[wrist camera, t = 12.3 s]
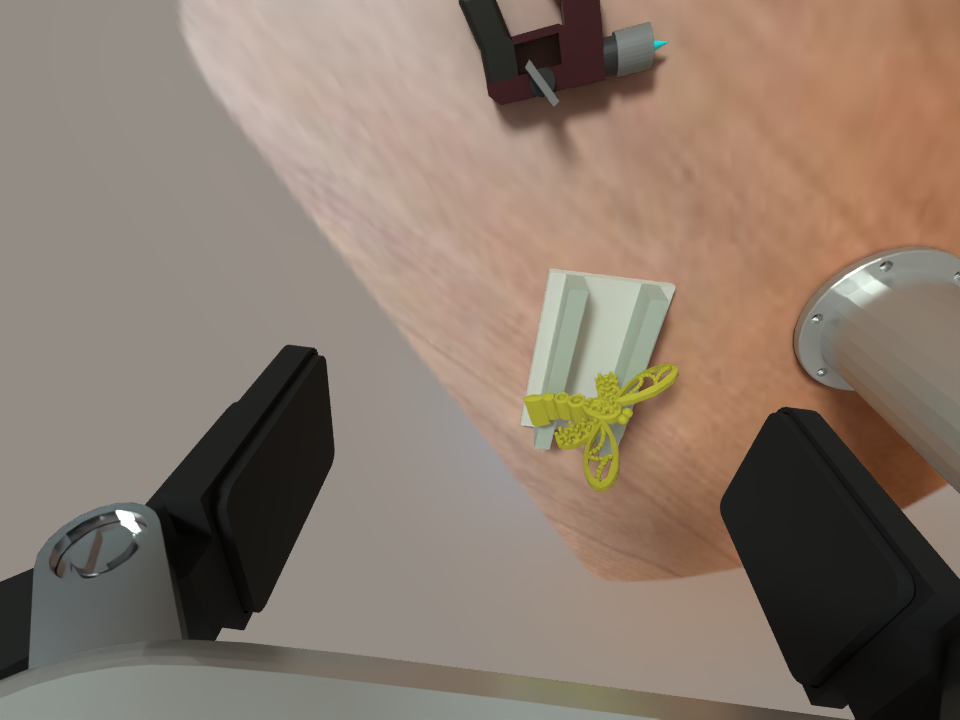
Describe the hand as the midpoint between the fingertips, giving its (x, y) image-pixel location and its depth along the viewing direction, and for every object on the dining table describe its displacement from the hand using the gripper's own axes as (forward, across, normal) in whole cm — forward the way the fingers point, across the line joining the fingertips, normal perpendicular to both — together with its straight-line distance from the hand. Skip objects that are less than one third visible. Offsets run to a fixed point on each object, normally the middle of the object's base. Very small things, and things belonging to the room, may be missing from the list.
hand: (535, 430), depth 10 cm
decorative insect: (+25, -8, +16) cm, 31 cm away
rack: (+28, -8, +15) cm, 33 cm away
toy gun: (+29, -1, -10) cm, 30 cm away
